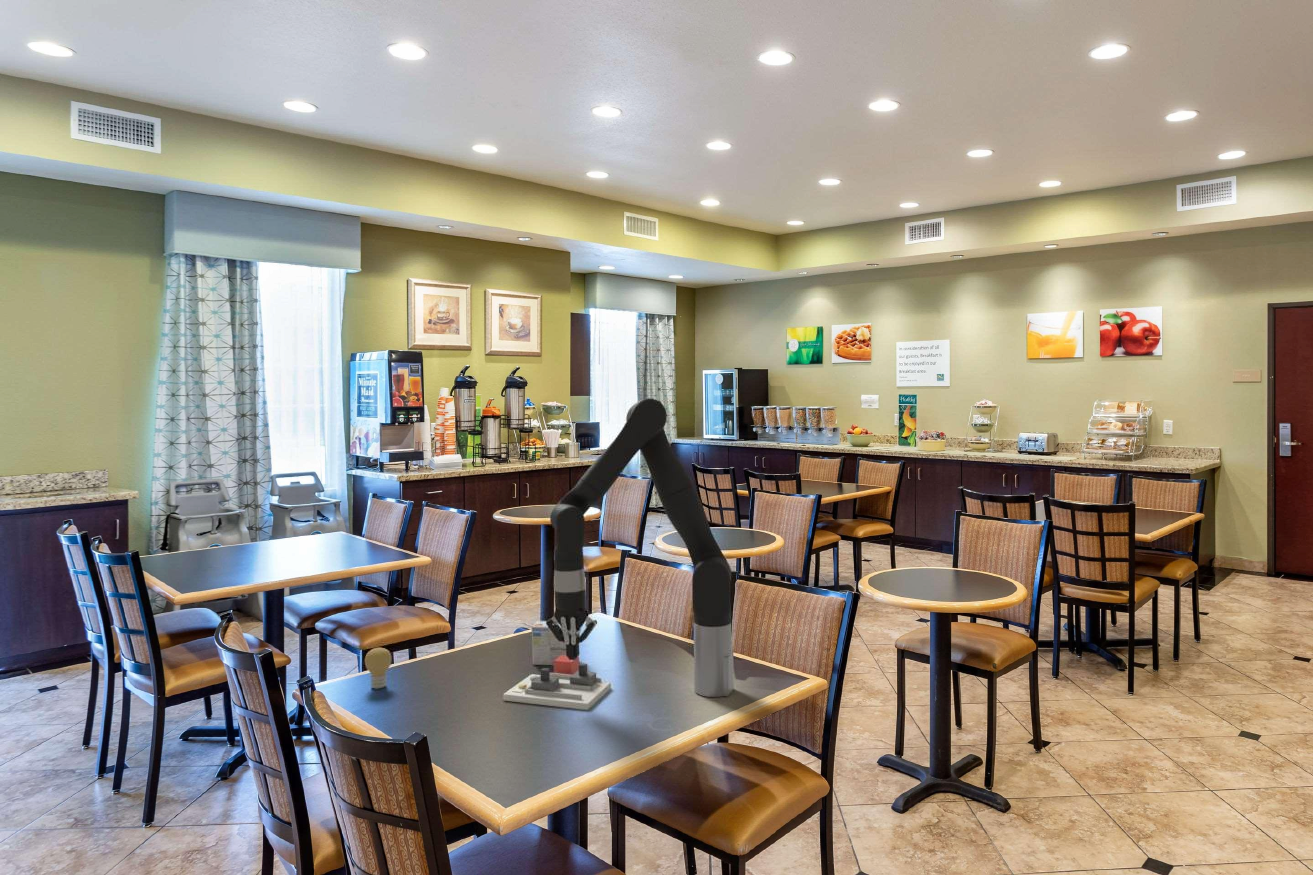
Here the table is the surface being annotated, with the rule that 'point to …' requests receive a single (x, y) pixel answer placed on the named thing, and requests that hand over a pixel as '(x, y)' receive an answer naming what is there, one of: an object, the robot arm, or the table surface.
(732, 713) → the table surface
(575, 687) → the panel
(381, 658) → the light bulb
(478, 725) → the table surface
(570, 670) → the cap
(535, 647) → the light bulb box
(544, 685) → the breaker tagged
